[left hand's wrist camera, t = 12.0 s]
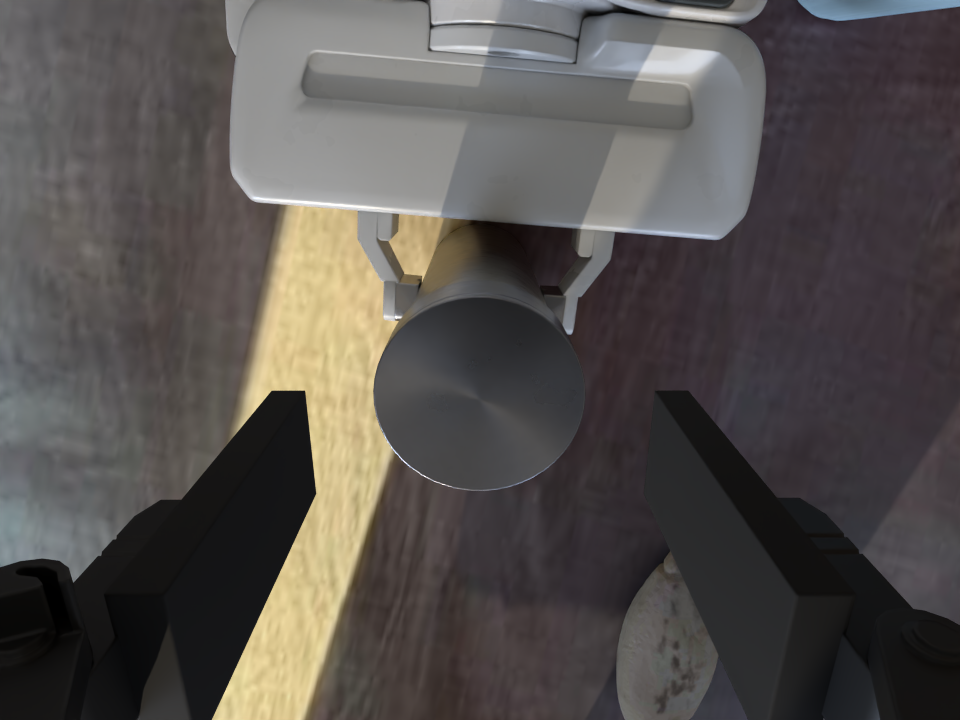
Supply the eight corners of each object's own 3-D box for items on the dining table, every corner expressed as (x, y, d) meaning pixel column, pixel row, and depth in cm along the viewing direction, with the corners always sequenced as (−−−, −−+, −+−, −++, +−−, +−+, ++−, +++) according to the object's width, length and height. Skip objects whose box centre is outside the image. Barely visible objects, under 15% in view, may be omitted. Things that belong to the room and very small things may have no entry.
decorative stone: (726, 531, 38) (749, 567, 35) (688, 714, 43) (705, 760, 40) (629, 528, 38) (643, 564, 35) (603, 712, 43) (612, 758, 40)
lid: (437, 483, 20) (432, 519, 18) (349, 329, 18) (334, 351, 16) (603, 414, 19) (616, 444, 17) (528, 245, 17) (534, 258, 15)
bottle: (456, 337, 34) (437, 501, 18) (412, 250, 32) (350, 350, 17) (545, 297, 33) (601, 433, 18) (504, 206, 31) (527, 268, 16)
